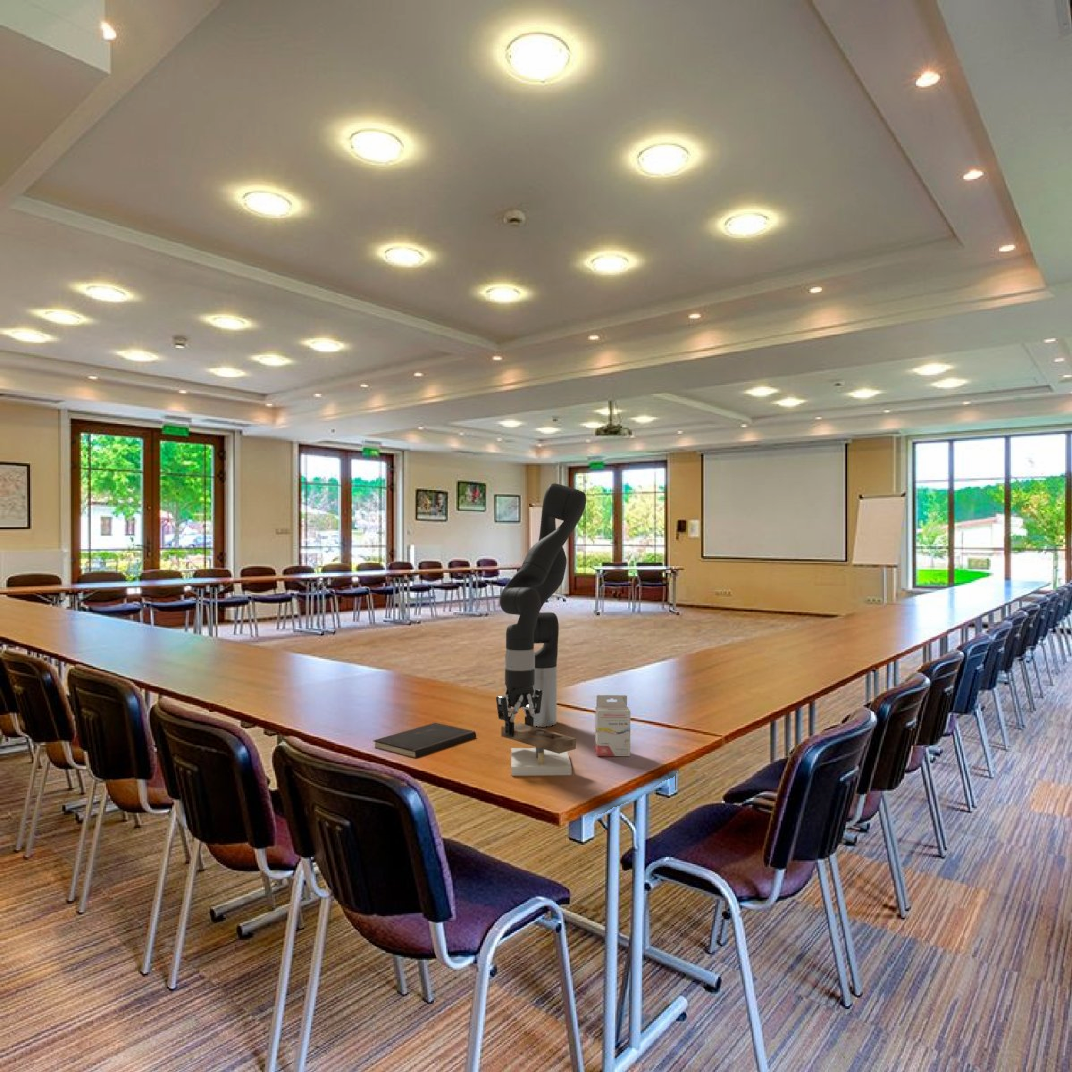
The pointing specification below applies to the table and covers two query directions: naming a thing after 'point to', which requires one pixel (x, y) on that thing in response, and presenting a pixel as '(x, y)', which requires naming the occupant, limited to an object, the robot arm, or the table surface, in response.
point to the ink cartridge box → (612, 726)
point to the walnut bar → (541, 738)
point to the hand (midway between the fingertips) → (519, 733)
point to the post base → (538, 762)
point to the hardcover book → (424, 739)
